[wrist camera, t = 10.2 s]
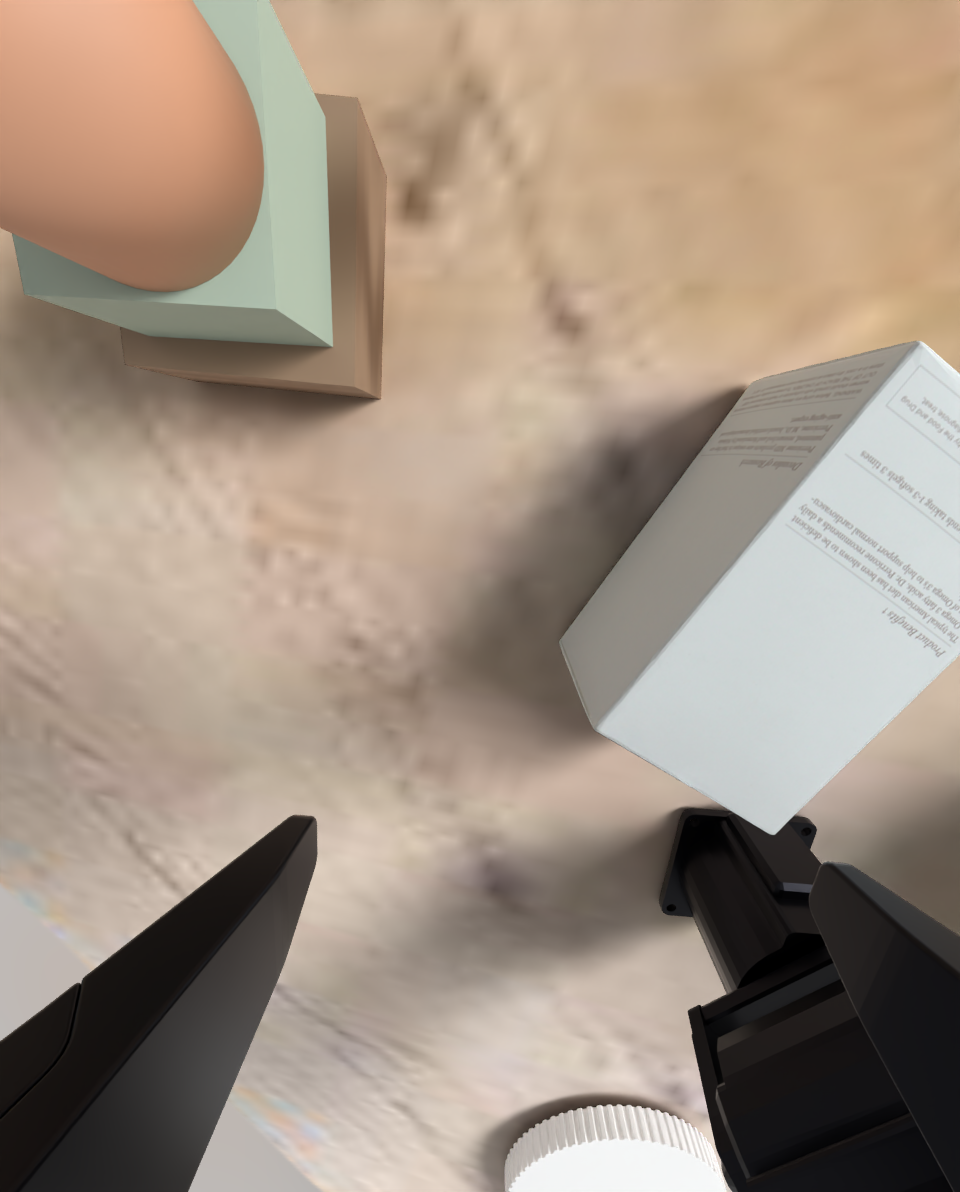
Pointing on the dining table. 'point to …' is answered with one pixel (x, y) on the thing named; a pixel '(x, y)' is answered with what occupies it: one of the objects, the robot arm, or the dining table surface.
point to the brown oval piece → (126, 139)
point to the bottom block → (352, 289)
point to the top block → (279, 237)
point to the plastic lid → (613, 1154)
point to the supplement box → (786, 585)
